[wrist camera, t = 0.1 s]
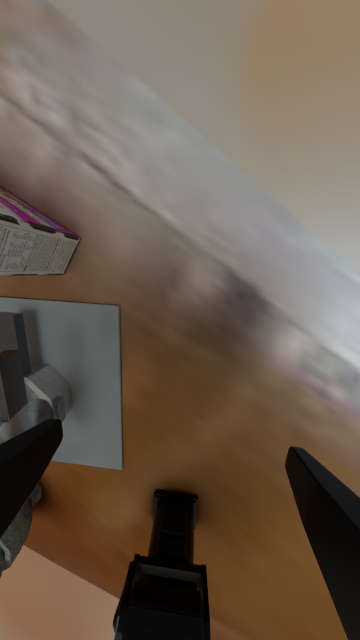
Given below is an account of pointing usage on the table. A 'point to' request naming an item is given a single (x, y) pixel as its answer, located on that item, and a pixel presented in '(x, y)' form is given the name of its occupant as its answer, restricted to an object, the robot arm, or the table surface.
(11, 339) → the cooker pot
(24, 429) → the lid
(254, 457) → the table surface
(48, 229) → the candy bar box
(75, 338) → the slate board
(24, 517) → the mortar and pestle
